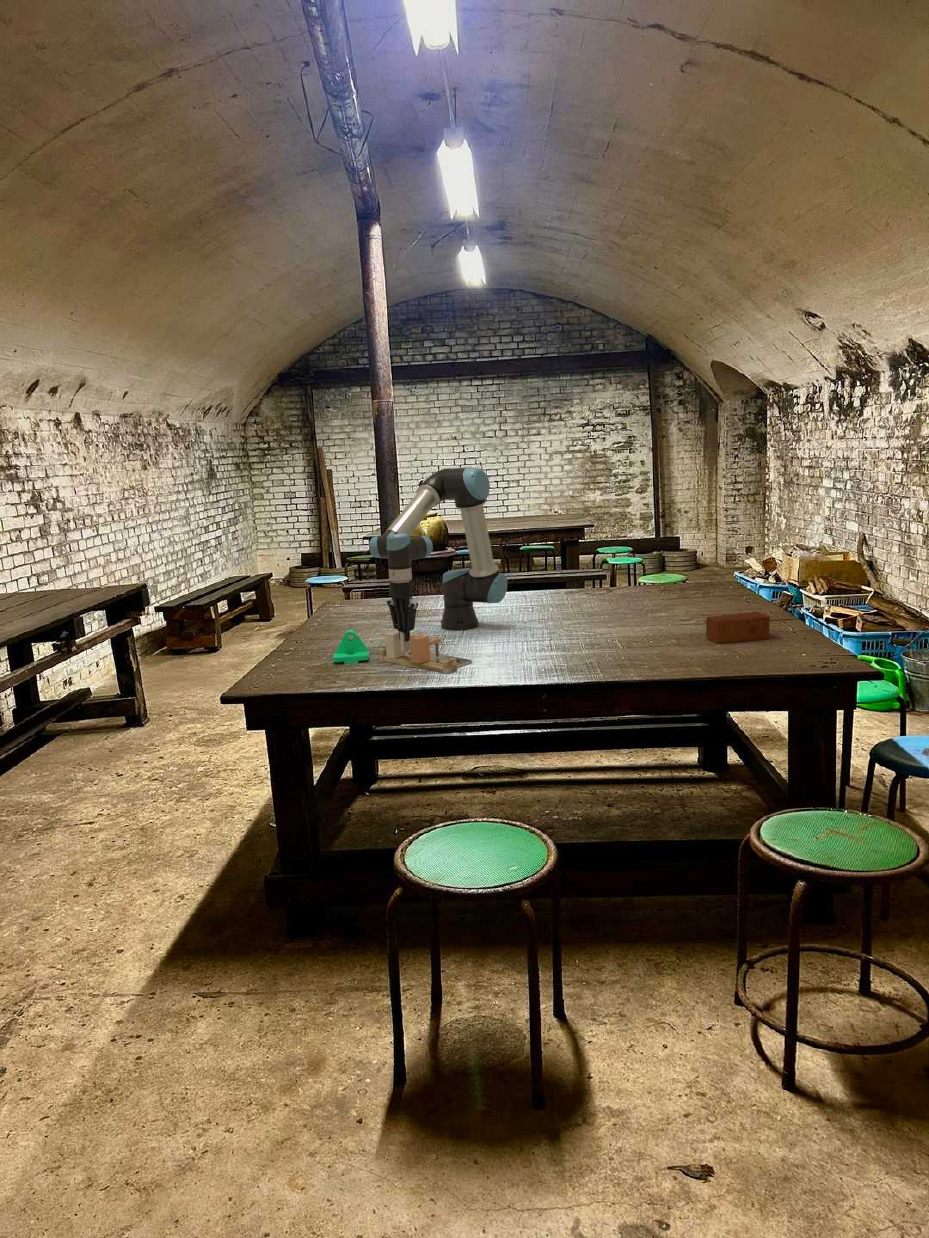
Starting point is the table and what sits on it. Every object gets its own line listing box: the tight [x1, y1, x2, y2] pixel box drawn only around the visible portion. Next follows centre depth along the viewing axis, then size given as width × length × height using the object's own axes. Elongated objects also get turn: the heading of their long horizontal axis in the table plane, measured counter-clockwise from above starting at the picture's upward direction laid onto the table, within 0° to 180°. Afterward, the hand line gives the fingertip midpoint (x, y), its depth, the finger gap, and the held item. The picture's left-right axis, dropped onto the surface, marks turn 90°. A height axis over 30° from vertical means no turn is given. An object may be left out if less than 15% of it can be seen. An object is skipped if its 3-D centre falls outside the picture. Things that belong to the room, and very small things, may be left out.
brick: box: [705, 611, 771, 645], centre depth 268 cm, size 20×8×8 cm, turn 100°
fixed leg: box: [384, 630, 417, 659], centre depth 264 cm, size 12×4×8 cm, turn 138°
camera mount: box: [332, 629, 370, 665], centre depth 266 cm, size 12×8×10 cm, turn 95°
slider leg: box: [409, 634, 442, 664], centre depth 256 cm, size 12×4×8 cm, turn 138°
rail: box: [378, 647, 458, 675], centre depth 256 cm, size 5×32×4 cm, turn 48°
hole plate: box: [404, 650, 473, 669], centre depth 262 cm, size 8×28×1 cm, turn 48°
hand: (405, 650), depth 259 cm, fingers closed
